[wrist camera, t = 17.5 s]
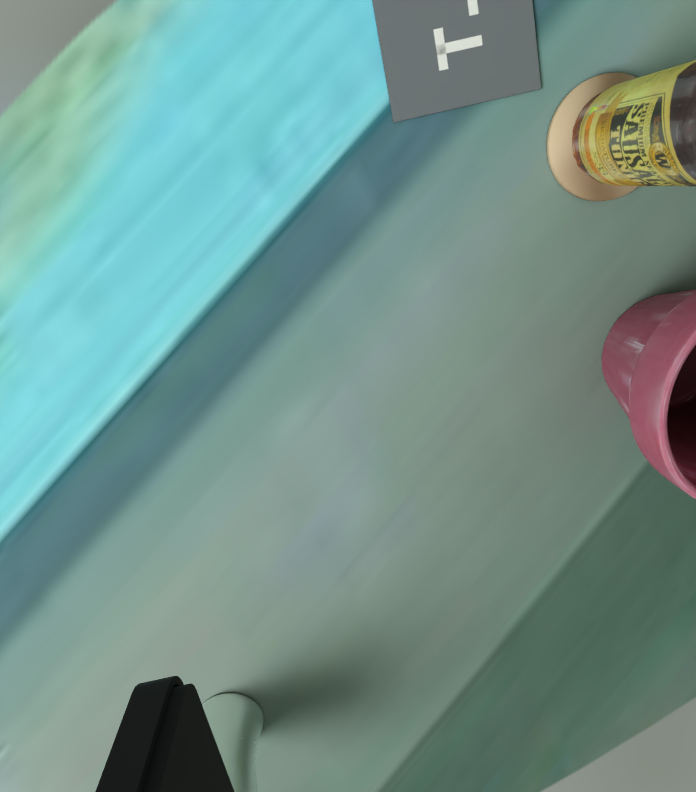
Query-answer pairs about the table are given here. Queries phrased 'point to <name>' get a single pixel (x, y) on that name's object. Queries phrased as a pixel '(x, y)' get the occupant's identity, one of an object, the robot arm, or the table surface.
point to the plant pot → (658, 381)
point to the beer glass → (236, 736)
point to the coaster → (561, 141)
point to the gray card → (455, 52)
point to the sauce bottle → (641, 131)
